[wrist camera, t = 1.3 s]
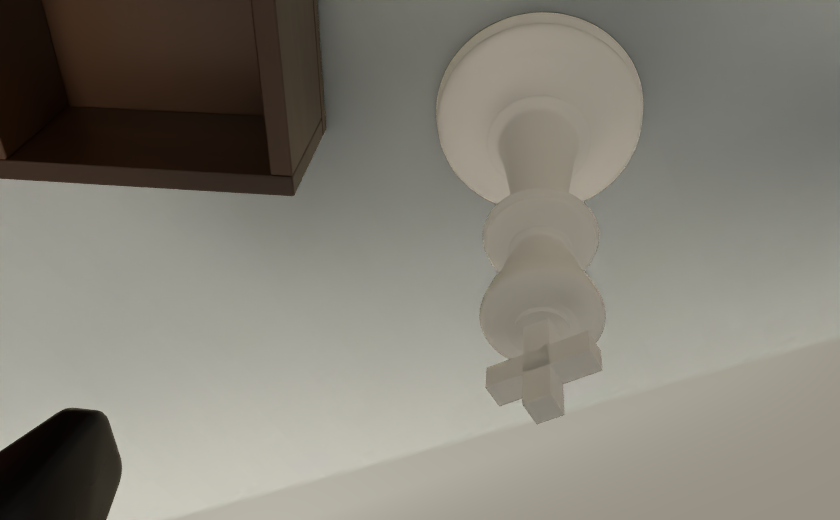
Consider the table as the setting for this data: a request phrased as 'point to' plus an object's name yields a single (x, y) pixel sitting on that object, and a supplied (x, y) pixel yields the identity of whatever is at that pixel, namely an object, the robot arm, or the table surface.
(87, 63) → the grid
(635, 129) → the chess piece
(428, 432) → the table surface
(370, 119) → the table surface
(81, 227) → the table surface
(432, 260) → the table surface
